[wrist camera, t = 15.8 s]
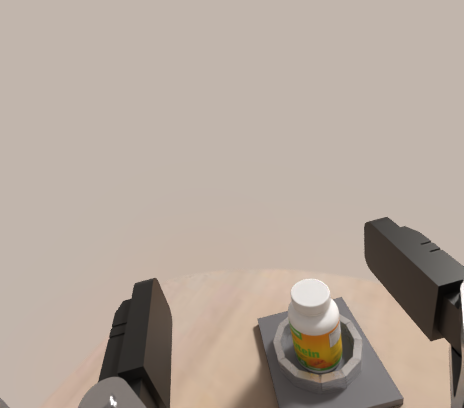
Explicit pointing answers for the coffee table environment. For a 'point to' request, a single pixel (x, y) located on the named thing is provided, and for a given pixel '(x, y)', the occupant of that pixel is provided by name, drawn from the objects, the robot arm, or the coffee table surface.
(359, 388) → the base plate
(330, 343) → the supplement bottle
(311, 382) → the stone collar
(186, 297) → the coffee table surface
